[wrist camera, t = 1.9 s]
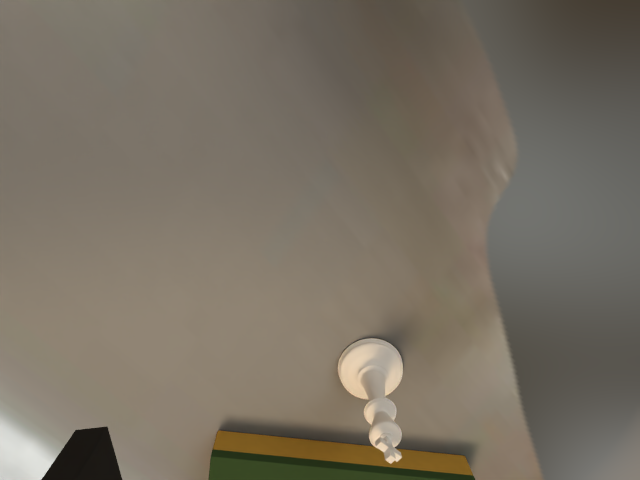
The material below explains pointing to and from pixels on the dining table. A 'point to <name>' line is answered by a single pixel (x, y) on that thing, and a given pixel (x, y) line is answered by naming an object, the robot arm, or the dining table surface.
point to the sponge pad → (324, 461)
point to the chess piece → (375, 389)
